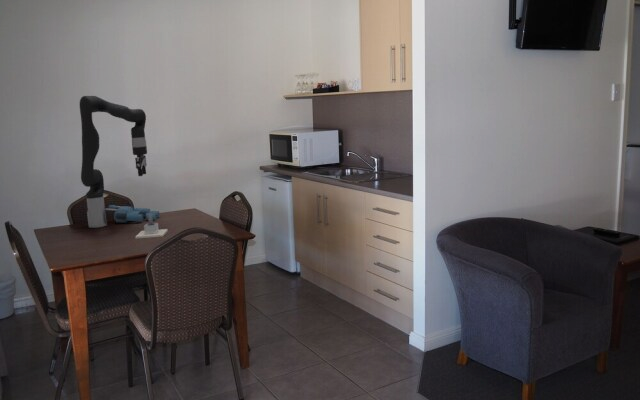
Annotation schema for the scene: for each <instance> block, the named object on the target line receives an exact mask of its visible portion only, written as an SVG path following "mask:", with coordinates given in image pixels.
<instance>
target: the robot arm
mask: <svg viewBox="0 0 640 400" xmlns="http://www.w3.org/2000/svg"><path fill="white" fill-rule="evenodd" d="M79 113H80V120H81V150H82V152H81V153H82V154H81V156H82V157H81V159H82V160H81V161H82V162H81V172H80V179H81V183H82V184H83V185H84V187H86V188H87V187H89V190H88V191H87V192H86V194H85V197H86V206H87V211H86V215H87V223H88V228H92V229H93V228H94V229H97V228H103V227H106V226H107V225H108V224H107V217H106V216H107V215H106V210H105V208H106V206H105V199H104V191H105V183H104V175H103V173H102V171H101V170H100V169H94V168H95V167H94V165H95V160H96V157H97V155H98V153H99V150H100V135H99V132H98V130H97V129H96V126H95V125H94V123H93V121H94V120H93V113H106V114H108V115H111V116H112V117H116V118H119V119H122V120H124V121H126V122H129V123H134V126H133V127H131V128H130V134H131V147H132V149H131V151H132V155H133V156H136V157H135V158H134V159H135V160H134V161H135V169H136V170H137V175H138V177H143V175H147V168H146V167H147V160H146V159H147V157H146V155H147V154H148V148H147V140H146V133H145V129H146V123H147V122H146V120H147V116H146V113H145V111H144V110H143V109H141V108H129V107H128V106H125V105H122V104H119V103H118V104H117V103H113V102H110V101H107V100H105V99H102V97H101V98H100V97H99V96H97V95H83V96H81V98H80V99H79Z"/></svg>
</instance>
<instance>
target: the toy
mask: <svg viewBox="0 0 640 400" xmlns="http://www.w3.org/2000/svg"><path fill="white" fill-rule="evenodd" d="M105 211H112V214H113V219H114V221H116V223H121V224H122V223H123V224H124V223H127V222H143V220H144V219H145V220H146V221H149V219H148V214H152V220H155V221H156V220H157V219H159V218H160V211H159V210H151V209H150V208H144V207H143V208H142V207H134V209H133V207H132V206H127V205H125V206H124V205H122V206H119V205H115V204H110V205H108V206H107V208H106V207H105ZM158 217H159V218H158Z"/></svg>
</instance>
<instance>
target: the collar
mask: <svg viewBox="0 0 640 400" xmlns="http://www.w3.org/2000/svg"><path fill="white" fill-rule="evenodd" d="M159 230H160V229H159V222H153V225H149V223H146V224H144V225H143V231H145V234H156V233H157V232H158V231H159Z"/></svg>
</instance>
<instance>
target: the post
mask: <svg viewBox="0 0 640 400" xmlns="http://www.w3.org/2000/svg"><path fill="white" fill-rule="evenodd" d="M148 219H149V220H148V224H149V225H153V223H154V221H153V220H152V214H148ZM168 231H169V230H168V228H164V229H159V231H158V232H157V233H156V234H145V231H144V230H141V231H140V232H139V233H138V234H137V235H135V239H150V238H162V237H164V236H165V235H166V234H167V233H168Z"/></svg>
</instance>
